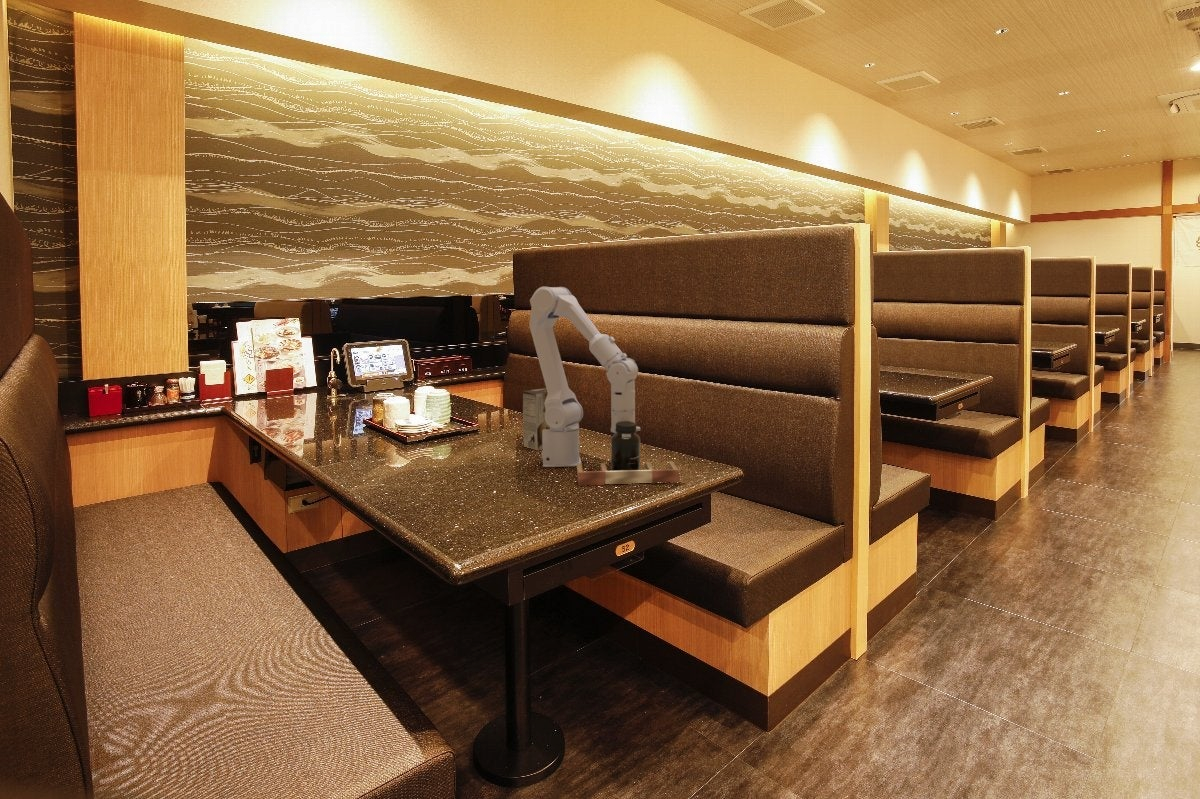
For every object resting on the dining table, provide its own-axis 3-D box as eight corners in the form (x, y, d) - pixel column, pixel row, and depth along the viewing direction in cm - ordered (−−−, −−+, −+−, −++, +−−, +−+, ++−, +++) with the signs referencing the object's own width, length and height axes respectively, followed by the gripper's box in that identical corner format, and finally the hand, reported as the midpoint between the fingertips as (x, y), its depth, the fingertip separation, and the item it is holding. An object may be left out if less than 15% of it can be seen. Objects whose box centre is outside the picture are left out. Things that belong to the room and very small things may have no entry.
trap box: (578, 485, 154) (578, 472, 153) (577, 475, 162) (577, 463, 162) (678, 483, 155) (678, 470, 155) (672, 473, 163) (672, 461, 163)
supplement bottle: (637, 478, 160) (638, 428, 157) (608, 476, 161) (608, 427, 158) (641, 468, 166) (642, 420, 163) (613, 466, 168) (613, 418, 165)
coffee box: (547, 442, 199) (546, 387, 197) (562, 446, 195) (561, 389, 192) (522, 448, 193) (521, 390, 190) (537, 451, 188) (536, 392, 186)
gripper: (643, 414, 159) (643, 471, 161) (636, 404, 173) (636, 457, 175) (613, 415, 158) (613, 472, 160) (608, 405, 172) (608, 458, 174)
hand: (623, 465), depth 168 cm, fingers closed, pressing on supplement bottle
